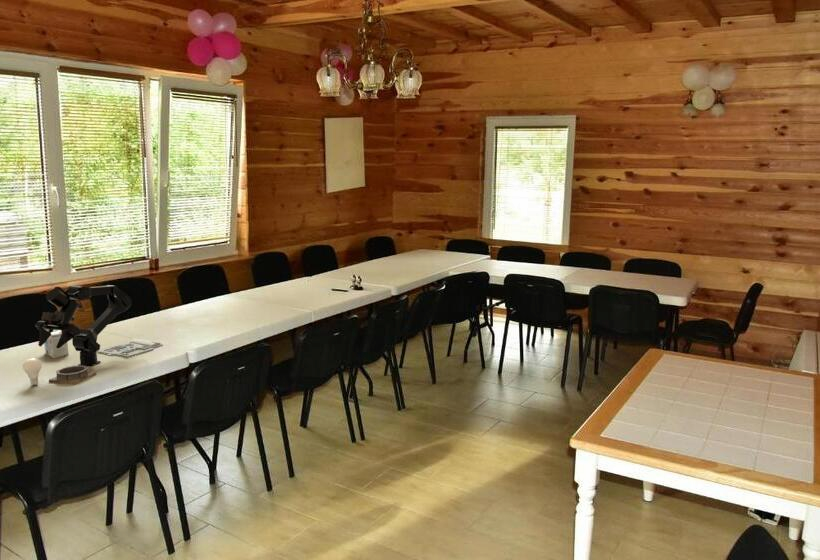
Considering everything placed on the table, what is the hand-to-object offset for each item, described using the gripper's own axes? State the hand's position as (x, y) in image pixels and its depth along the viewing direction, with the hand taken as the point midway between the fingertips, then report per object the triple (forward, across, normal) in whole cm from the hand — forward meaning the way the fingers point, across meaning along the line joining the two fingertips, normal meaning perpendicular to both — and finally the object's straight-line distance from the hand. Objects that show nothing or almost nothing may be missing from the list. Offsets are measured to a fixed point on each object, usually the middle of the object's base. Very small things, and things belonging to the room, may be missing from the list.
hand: (48, 347), depth 257 cm
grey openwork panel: (-19, +2, +42) cm, 46 cm away
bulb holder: (+8, +8, +11) cm, 16 cm away
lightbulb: (+15, 0, +3) cm, 16 cm away
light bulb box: (-8, -26, +29) cm, 39 cm away
